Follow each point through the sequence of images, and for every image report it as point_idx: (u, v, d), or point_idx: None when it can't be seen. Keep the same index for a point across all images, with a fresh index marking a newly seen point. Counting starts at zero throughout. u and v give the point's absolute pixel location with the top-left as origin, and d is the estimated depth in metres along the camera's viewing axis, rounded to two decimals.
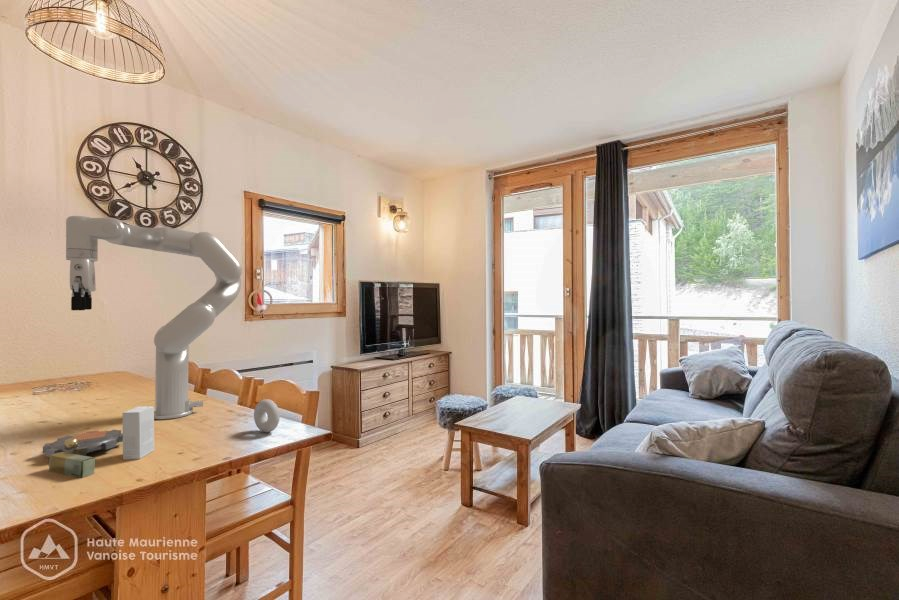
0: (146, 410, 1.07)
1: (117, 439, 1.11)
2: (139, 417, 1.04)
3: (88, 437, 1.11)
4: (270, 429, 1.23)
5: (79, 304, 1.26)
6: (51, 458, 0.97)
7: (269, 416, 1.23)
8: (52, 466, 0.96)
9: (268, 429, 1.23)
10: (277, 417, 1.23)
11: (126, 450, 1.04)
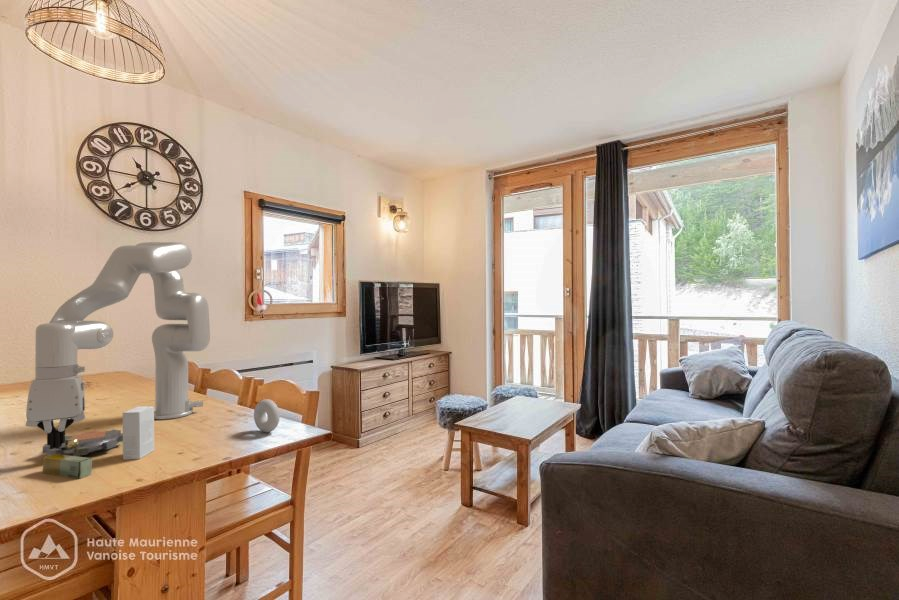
0: (146, 410, 1.07)
1: (117, 439, 1.11)
2: (139, 417, 1.04)
3: (88, 437, 1.11)
4: (270, 429, 1.23)
5: (64, 438, 1.03)
6: (45, 460, 0.95)
7: (269, 416, 1.23)
8: (46, 468, 0.95)
9: (268, 429, 1.23)
10: (277, 417, 1.23)
11: (126, 450, 1.04)
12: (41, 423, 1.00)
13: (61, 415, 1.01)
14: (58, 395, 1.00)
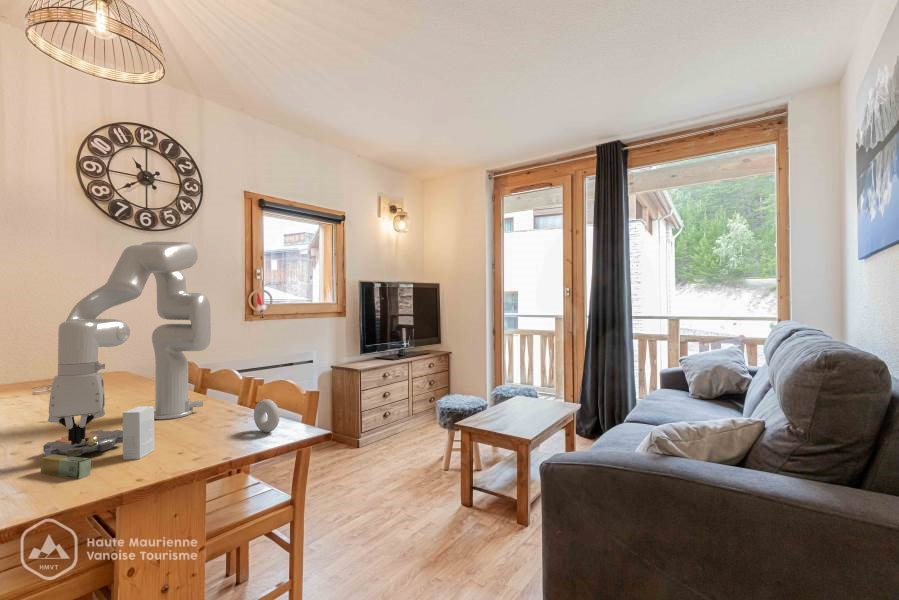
0: (146, 410, 1.07)
1: None
2: (139, 417, 1.04)
3: None
4: (270, 429, 1.23)
5: None
6: (43, 461, 0.95)
7: (269, 416, 1.23)
8: (44, 469, 0.95)
9: (268, 429, 1.23)
10: (277, 417, 1.23)
11: (126, 450, 1.04)
12: (63, 419, 1.02)
13: (82, 411, 1.03)
14: (80, 391, 1.02)
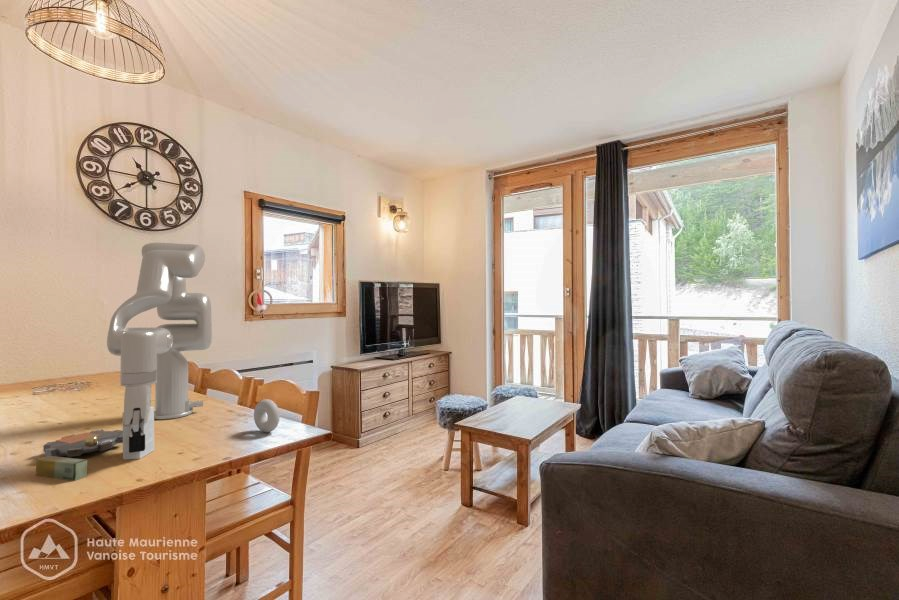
0: None
1: None
2: None
3: (83, 438, 1.10)
4: (270, 429, 1.23)
5: None
6: (38, 462, 0.94)
7: (269, 416, 1.23)
8: (40, 470, 0.94)
9: (268, 429, 1.23)
10: (277, 417, 1.23)
11: (126, 450, 1.04)
12: None
13: None
14: None
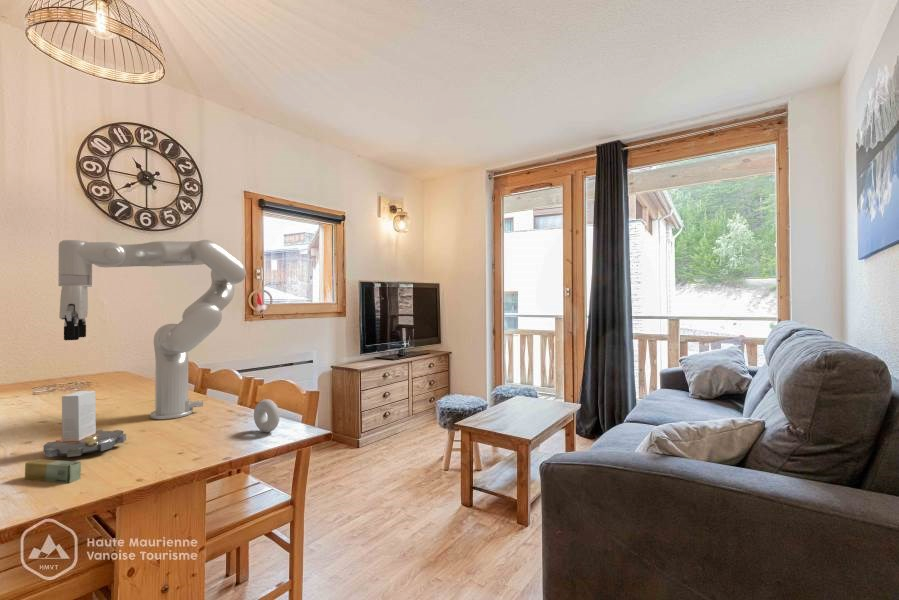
0: (86, 394, 1.11)
1: None
2: (78, 400, 1.08)
3: None
4: (270, 429, 1.23)
5: None
6: (28, 466, 0.92)
7: (269, 416, 1.23)
8: (29, 474, 0.92)
9: (268, 429, 1.23)
10: (277, 417, 1.23)
11: (66, 432, 1.08)
12: None
13: (85, 315, 1.26)
14: (86, 299, 1.26)
